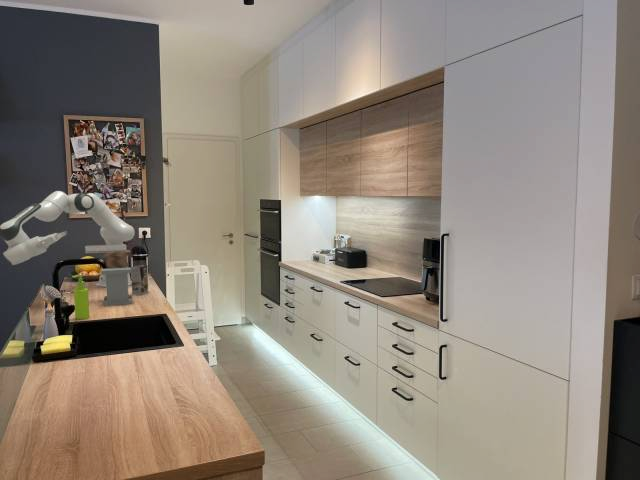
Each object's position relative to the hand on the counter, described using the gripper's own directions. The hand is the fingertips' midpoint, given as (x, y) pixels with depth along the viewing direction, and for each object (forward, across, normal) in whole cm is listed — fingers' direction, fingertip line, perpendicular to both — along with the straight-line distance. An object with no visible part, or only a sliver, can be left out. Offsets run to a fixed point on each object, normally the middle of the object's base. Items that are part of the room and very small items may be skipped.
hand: (65, 232), depth 258 cm
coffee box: (+17, +13, +49) cm, 53 cm away
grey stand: (+6, -10, +43) cm, 45 cm away
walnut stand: (+6, +1, +44) cm, 44 cm away
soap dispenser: (-9, -38, +37) cm, 53 cm away
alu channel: (+12, +1, +18) cm, 22 cm away
